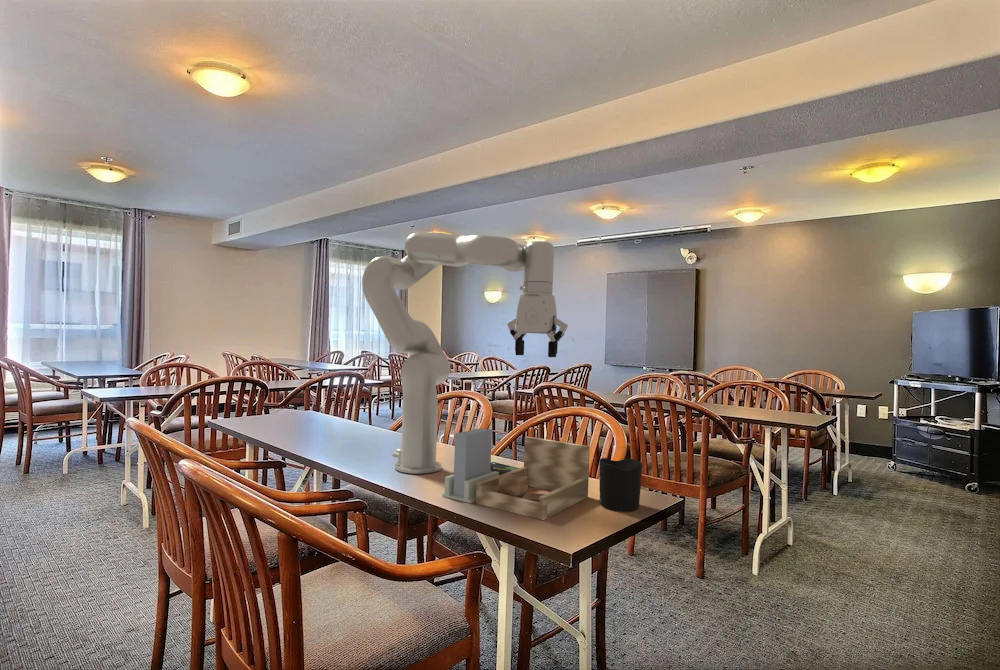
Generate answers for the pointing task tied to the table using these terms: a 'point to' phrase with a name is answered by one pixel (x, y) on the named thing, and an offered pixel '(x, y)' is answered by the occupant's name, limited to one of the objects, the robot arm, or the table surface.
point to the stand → (466, 487)
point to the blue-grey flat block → (471, 457)
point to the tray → (543, 479)
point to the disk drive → (501, 468)
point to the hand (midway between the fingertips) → (535, 356)
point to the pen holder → (620, 484)
